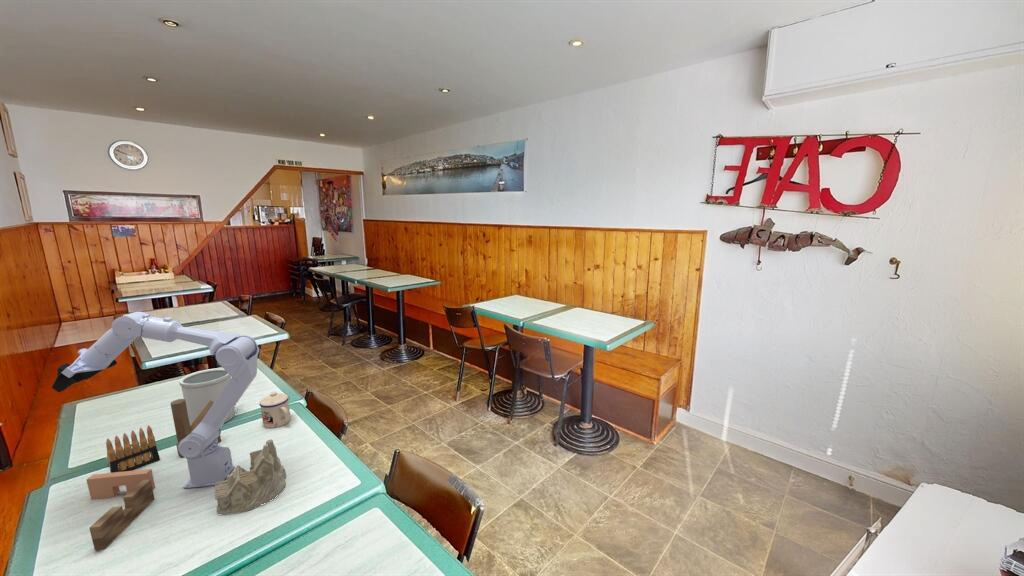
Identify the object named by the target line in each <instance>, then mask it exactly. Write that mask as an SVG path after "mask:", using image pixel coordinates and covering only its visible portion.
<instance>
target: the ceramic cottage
mask: <svg viewBox="0 0 1024 576" xmlns="http://www.w3.org/2000/svg"><path fill="white" fill-rule="evenodd" d="M249 456H250V467H249V470H245V469H244V468H243V467H241V466H240V465H237V466H236V468H235V470H234V471H233V473H230V474H229V475H228V476H227V477H226V480H224V481H221V482H217V483H216V484H215V485H214V494H215V495H214V499H215V501H216V502H217V506H216V513H217V514H218V515H220V514H223V515H227V514H229V515H230V514H231V513H233V514H237V513H238V512H240V513H245V511H246V512H248V511H247V510H249V511H251V510H254V509H256V508H258V507H261V506H262V505H261V504H264V503H266V504H267V502H268V503H270V502H271V501H270V500H272V499H274V498H275V497H276V496H277V495H279V494H280V493H281V492H282V493H283V491H284V490H285V489H286V487H287V485H286V482H287V481H286V482H285V479H286V480H287V471H286V469H285V467H284V465H282V462H281V460H280V458H279V457H278V454H277V447H276V446H275V444H274V440H273V439H268V440H266V441H265V444H263V446H262V449H259V450H255V451H251V452H250V453H249ZM285 486H286V487H285ZM284 488H285V489H284ZM283 489H284V490H283ZM282 490H283V491H282ZM282 493H281V494H282ZM281 494H280V495H281ZM280 495H279V496H280ZM275 499H276V498H275ZM275 499H274V500H275ZM272 501H273V500H272ZM260 505H261V506H260ZM264 505H265V504H264ZM255 507H256V508H255ZM253 508H254V509H253ZM250 509H251V510H250Z"/></svg>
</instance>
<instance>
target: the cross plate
mask: <svg viewBox="0 0 1024 576" xmlns="http://www.w3.org/2000/svg"><path fill="white" fill-rule="evenodd" d="M150 479H151V483H152V488H153V491H154V490H155V489H156V484H155V480H154V474H153V470H152V468H147V469H136V470H133V471H124V472H114V473H110V472H106V473H96V474H92V475H90V476H89V477H88V478H86V484H87V488H88V489H87V490H88V492H89V497H90V499H91V500H96V499H104V498H114V497H116V496H117V495H118V494H119V493H121V489H120V487H124V486H125V490H126V494H127V493H129V492H130V491H131V490H132V489H133V488H134V487H135V486H136V485H138V484H139V483H140V482H141V481H142V480H150Z"/></svg>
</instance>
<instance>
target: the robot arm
mask: <svg viewBox="0 0 1024 576" xmlns="http://www.w3.org/2000/svg"><path fill="white" fill-rule="evenodd" d="M138 337H139V338H144V339H150V340H155V341H161V342H166V343H172V342H175V341H177V340H180V341H185V342H189V343H193V344H196V345H197V344H198V345H200V346H201V345H202V346H206V347H208V350H209V353H210V355H211V356H215V360H216V361H217V363H218V364H219V365H220V366H221V368H224V370H225V371H226V372H227V373H228V374H229V375H230V376H231V380H230V381H229V383H228V384H227V385H226V387H225V388H224V390H223V391H222V393H221V394H220V395H219V397H218V398H217V400H216V401H215V402H214V404H213V405H212V407H211V408H210V410H209V411H208V412H207V414H206V415H205V417H204V418H203V420H202V421H201V422H200V423H199V425H198V426H197V427H196V428H195V429H194V430H193V431H191V433H190V434H189V435H188V436H187V437H186V438H184V439H183V440H181V441H180V443H179V445H178V451H179V453H180V454H181V455H182V456H184V457H183V458H185V459H186V462H187V466H188V472H189V478H190V479H189V480H188V481H187V482H186V483H185V484H184V485H183V489H191V488H199V487H200V488H202V487H208V486H215V484H216V483H217V482H221V481H225V479H227V476H228V475H230V474H231V472H232V471H233V470H234V468H235V465H233V464H234V463H233V459H232V452H231V449H230V447H228V446H221V445H219V443H218V439H217V438H218V437H219V436H221V434H222V428H223V426H224V424H225V423H224V420H225V419H226V418H227V416H228V415H229V413H230V412H231V411H232V409H233V408H234V407H235V406H236V405H237V403H238V402H239V401H240V399H241V398H242V396H243V395H244V394H245V392H246V391H247V389H248V388H249V387H250V385H251V383H252V382H253V381H254V379H255V378H256V376H257V374H258V373H257V372H258V357H259V356H258V355H259V353H260V347H259V345H258V344H257V341H256V340H255V339H254V338H253V337H252V336H250V335H246V334H245V335H244V334H242V335H241V334H240V333H238V332H228V331H227V332H224V331H218V330H209V329H208V330H207V329H202V328H201V329H200V328H195V327H187V326H183V325H182V324H181V322H180V321H178V320H173V317H168V316H167V317H163V318H162V317H156V316H153V315H152V316H151V314H148V313H145V312H143V311H134V312H131V313H128V314H126V315H122V316H119V317H118V318H115V319H114V320H113V321H112V323H111V327H110V329H108V330H107V331H105V333H104V334H103V335H101V336H100V337H99V338H98V340H96V341H95V342H94V343H93V344H92V345H90V347H89V348H86V347H85V348H81V349H79V350H78V351H77V354H78V357H77V358H76V359H75V360H74V361H73V363H71V364H70V363H68V362H66V363H64V364H60V365H59V367H58V368H57V376H56V379H55V381H54V383H52V386H51V389H53V390H54V391H56V392H57V393H61V392H64V391H65V390H67V389H69V388H70V387H71V386H73V385H74V384H76V383H80V382H82V381H84V380H85V381H87V380H89V379H91V378H92V377H94V376H96V375H97V374H98V373H101V372H103V371H104V370H106V369H108V368H112V367H114V366H116V365H117V363H118V362H117V360H115V359H117V358H118V356H120V355H121V353H122V352H124V351H125V350H126V349H127V348H128V347H129V346H130V345H131V344H133V342H134V341H135V340H136V339H137V338H138ZM178 451H177V452H178Z"/></svg>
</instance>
